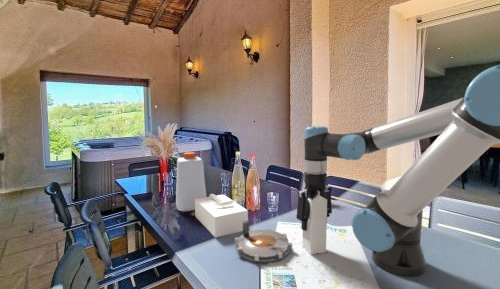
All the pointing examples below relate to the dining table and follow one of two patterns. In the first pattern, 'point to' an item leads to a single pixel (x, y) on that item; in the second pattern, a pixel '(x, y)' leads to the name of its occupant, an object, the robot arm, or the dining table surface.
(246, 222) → the sprocket
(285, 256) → the sprocket base
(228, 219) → the tissue box
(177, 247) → the dining table surface
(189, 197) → the plastic bottle
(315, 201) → the milk
